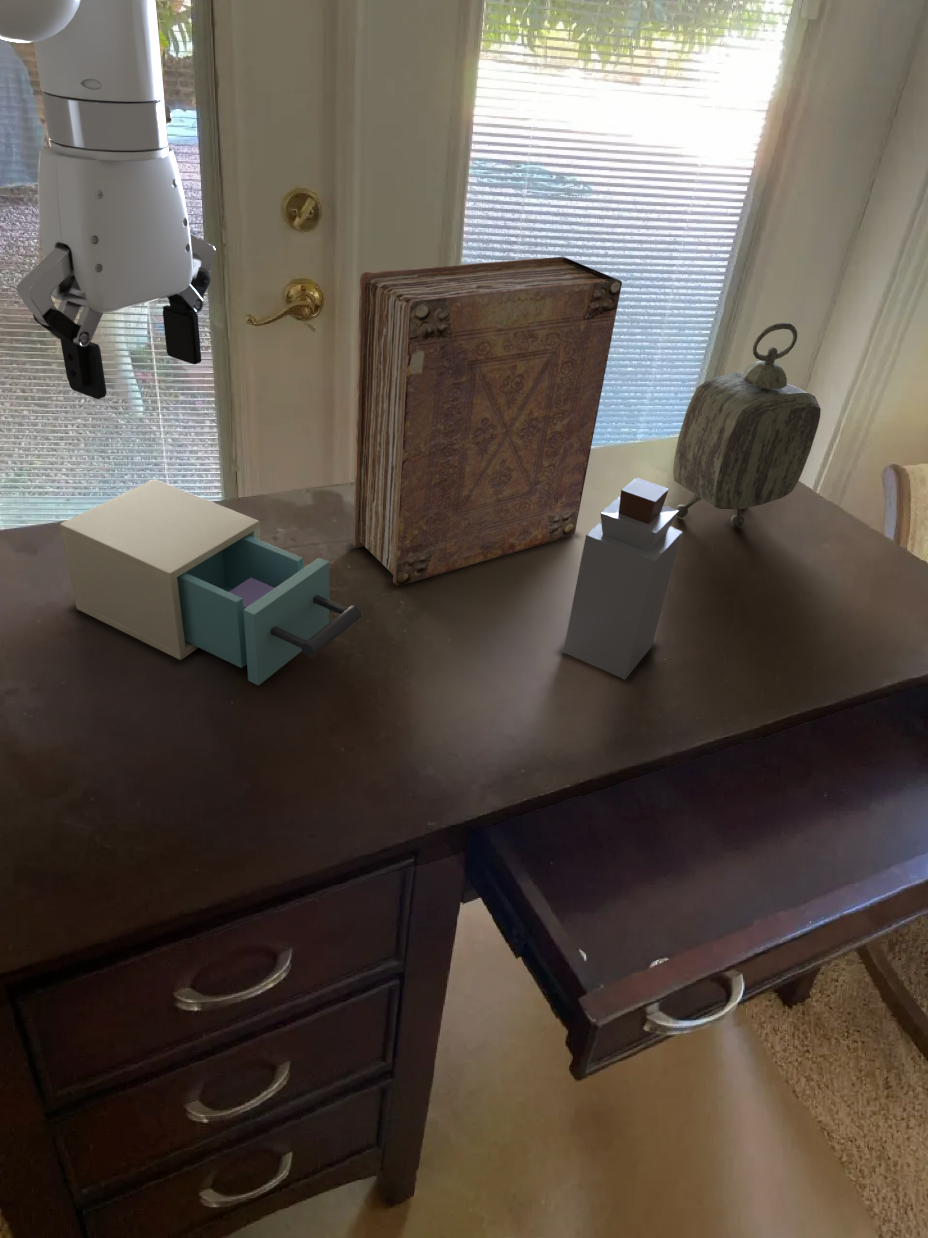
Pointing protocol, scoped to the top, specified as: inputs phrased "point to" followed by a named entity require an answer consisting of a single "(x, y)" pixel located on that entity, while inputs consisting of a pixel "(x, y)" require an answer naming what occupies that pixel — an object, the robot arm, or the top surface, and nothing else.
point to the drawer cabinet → (146, 558)
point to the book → (476, 408)
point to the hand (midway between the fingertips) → (138, 375)
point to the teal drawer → (260, 607)
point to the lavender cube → (251, 591)
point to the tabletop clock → (746, 435)
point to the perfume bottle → (623, 580)
